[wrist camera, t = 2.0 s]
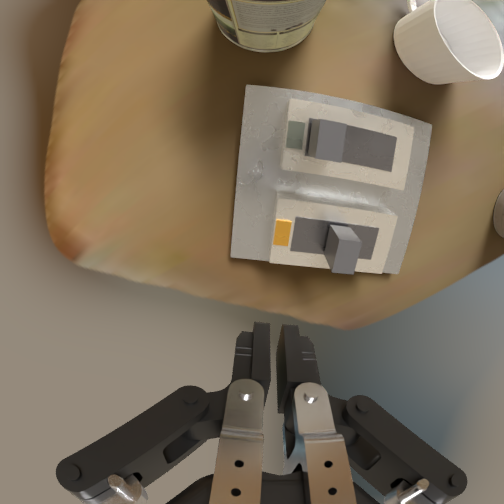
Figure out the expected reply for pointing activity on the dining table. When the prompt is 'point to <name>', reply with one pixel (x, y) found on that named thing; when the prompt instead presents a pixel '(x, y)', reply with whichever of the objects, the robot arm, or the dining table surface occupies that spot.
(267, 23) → the coffee can
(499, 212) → the thermos bottle
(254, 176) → the breaker panel
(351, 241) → the breaker handle
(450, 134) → the dining table surface
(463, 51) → the mug
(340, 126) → the on breaker handle
